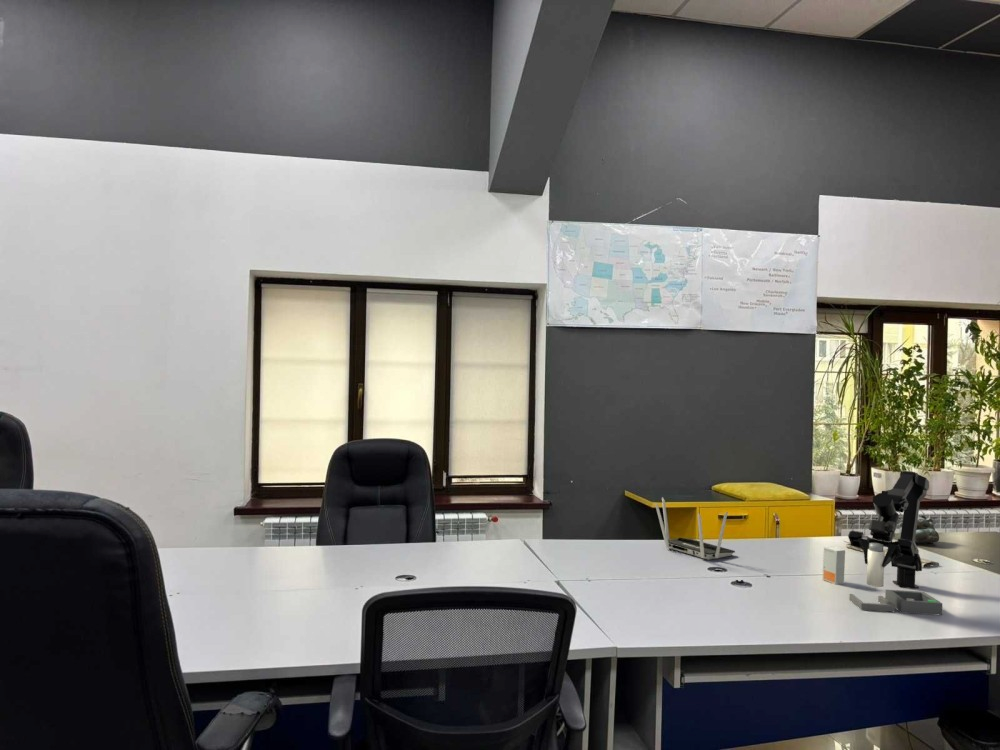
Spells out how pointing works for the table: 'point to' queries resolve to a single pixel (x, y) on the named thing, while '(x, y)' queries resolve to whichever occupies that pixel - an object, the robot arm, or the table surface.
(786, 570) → the table surface
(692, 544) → the wireless router
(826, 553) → the skincare box
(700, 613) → the table surface
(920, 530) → the grey rock
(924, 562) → the newspaper
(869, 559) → the plug
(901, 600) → the dock
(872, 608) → the grey u-shaped rail
